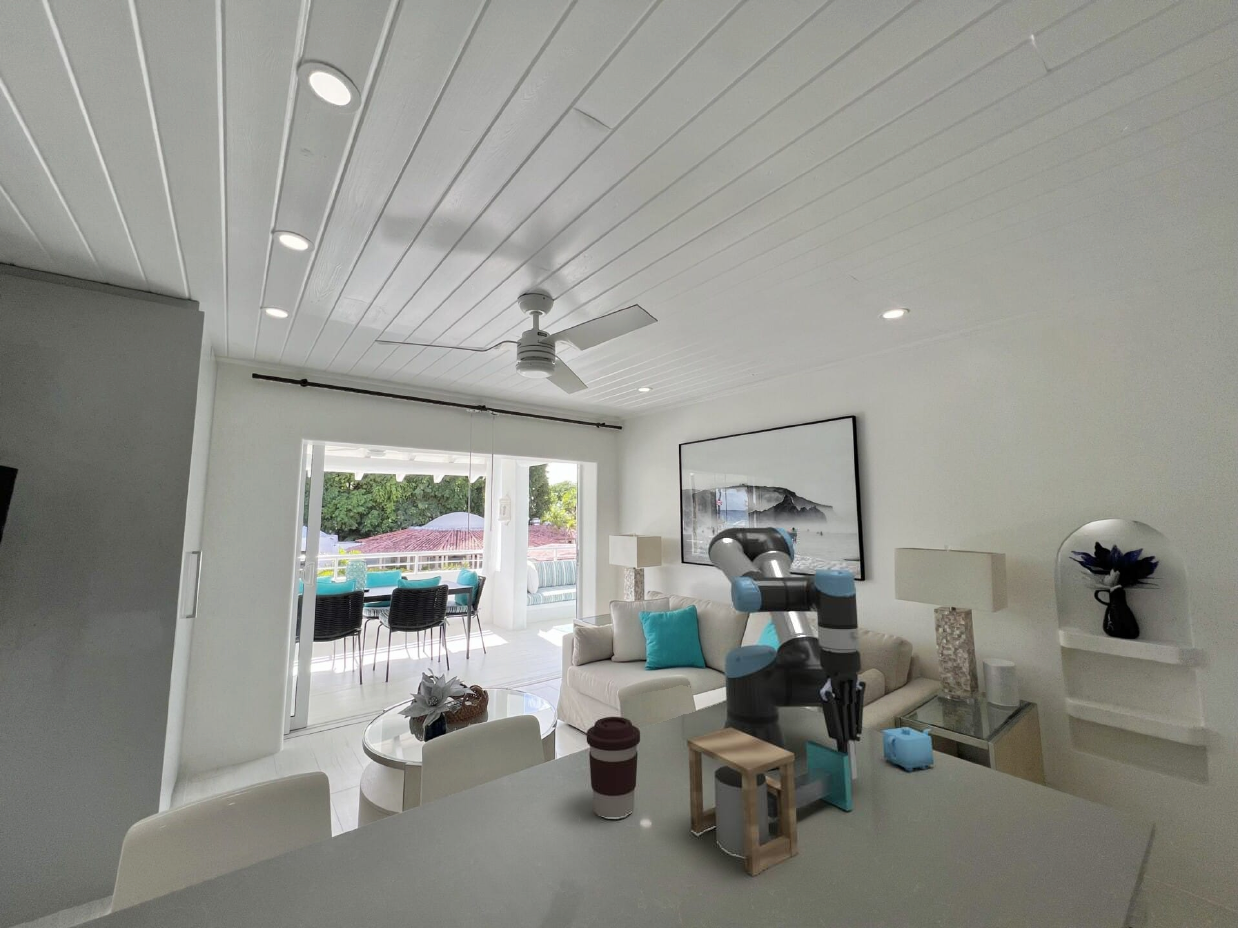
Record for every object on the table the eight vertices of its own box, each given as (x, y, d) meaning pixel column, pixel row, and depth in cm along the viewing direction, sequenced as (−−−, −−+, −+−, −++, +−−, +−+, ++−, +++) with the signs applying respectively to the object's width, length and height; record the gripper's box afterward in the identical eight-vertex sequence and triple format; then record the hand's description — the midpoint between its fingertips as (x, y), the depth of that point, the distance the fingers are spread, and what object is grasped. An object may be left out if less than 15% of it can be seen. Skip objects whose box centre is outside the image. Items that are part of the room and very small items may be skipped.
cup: (771, 861, 77) (768, 790, 79) (716, 855, 79) (714, 785, 80) (766, 830, 85) (763, 766, 87) (717, 825, 87) (714, 762, 88)
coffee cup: (649, 803, 94) (647, 717, 97) (627, 830, 86) (626, 735, 88) (601, 792, 99) (601, 710, 101) (576, 817, 90) (576, 727, 92)
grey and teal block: (813, 790, 98) (810, 740, 100) (852, 808, 92) (848, 754, 93) (748, 818, 88) (746, 762, 90) (786, 840, 82) (783, 780, 83)
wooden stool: (689, 832, 85) (687, 739, 87) (745, 809, 92) (741, 724, 94) (753, 877, 73) (748, 769, 76) (811, 847, 80) (805, 749, 83)
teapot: (921, 755, 115) (918, 719, 116) (946, 766, 109) (942, 729, 110) (879, 762, 111) (876, 725, 112) (901, 774, 105) (898, 735, 106)
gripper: (836, 656, 95) (845, 793, 91) (875, 647, 102) (886, 774, 98) (802, 649, 101) (810, 777, 98) (841, 641, 108) (850, 761, 105)
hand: (848, 775), depth 98 cm, fingers closed
